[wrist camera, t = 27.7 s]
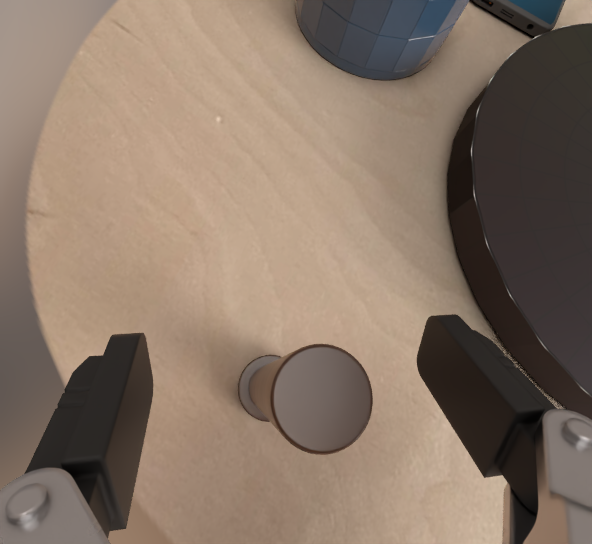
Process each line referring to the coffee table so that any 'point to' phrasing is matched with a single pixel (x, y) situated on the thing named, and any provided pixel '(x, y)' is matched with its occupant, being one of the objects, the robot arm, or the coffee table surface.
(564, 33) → the disc
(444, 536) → the coffee table surface
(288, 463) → the coffee table surface
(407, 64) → the bowl
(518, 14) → the smartphone
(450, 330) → the robot arm
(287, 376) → the stick
